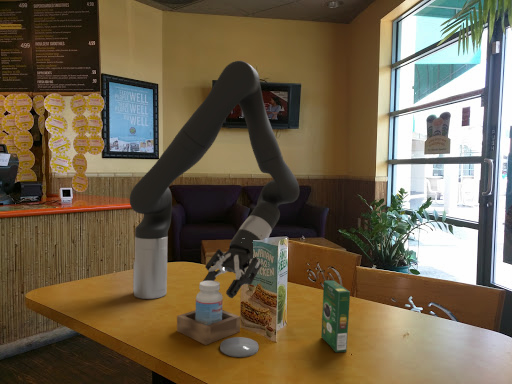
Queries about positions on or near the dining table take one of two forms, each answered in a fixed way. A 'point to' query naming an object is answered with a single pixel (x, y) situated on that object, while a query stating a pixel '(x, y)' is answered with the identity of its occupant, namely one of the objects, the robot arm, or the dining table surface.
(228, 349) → the coaster
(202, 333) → the square open box
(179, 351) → the dining table surface
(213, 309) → the pill bottle
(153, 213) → the robot arm
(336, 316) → the coffee box
